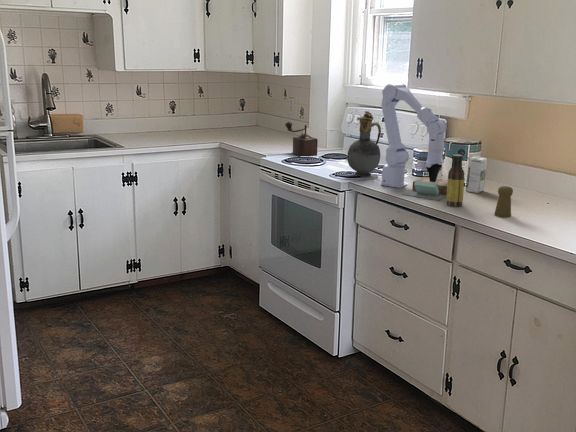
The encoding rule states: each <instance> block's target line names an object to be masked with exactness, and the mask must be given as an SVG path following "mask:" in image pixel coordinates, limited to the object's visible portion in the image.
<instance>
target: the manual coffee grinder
mask: <svg viewBox="0 0 576 432" xmlns="http://www.w3.org/2000/svg"><path fill="white" fill-rule="evenodd" d="M285 127H286V128H287V131H288V132H290V133H299V132H301V134H300V135H299V136H295V137H294V136H292V152H291V153H292V155H294V156H297V155H298V156H297V157H300V156H307V157H317V156H318V138H316V137H312V136H310V135H309V134H308V133H307V129H308V128H307V124H304V127H303V128H301V129H300V128H299V129H298V130H293V128H292V127H293V122H290V121H288V122H287V121H286V123H285ZM303 131H304V133H302V132H303Z"/></svg>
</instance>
